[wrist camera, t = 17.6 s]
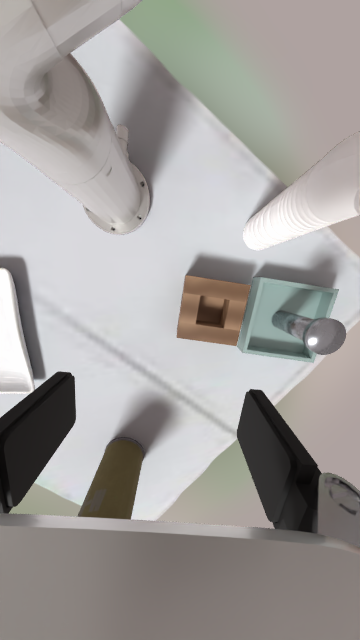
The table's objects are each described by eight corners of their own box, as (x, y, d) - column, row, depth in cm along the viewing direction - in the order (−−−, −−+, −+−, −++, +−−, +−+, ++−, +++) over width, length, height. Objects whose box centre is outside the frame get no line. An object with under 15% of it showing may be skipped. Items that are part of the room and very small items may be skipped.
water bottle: (257, 207, 34) (456, 25, 10) (281, 228, 35) (522, 111, 10) (228, 247, 36) (338, 176, 11) (253, 266, 36) (404, 240, 12)
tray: (253, 277, 37) (261, 277, 33) (324, 288, 37) (339, 289, 34) (237, 346, 40) (242, 352, 37) (302, 355, 41) (313, 362, 38)
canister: (128, 430, 45) (90, 544, 26) (152, 457, 47) (133, 582, 28) (95, 449, 47) (36, 572, 27) (120, 475, 49) (81, 605, 29)
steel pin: (271, 304, 37) (314, 316, 26) (297, 308, 38) (351, 322, 26) (264, 329, 39) (303, 352, 27) (289, 333, 39) (338, 357, 27)
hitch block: (185, 275, 37) (186, 275, 32) (241, 284, 37) (250, 285, 32) (176, 330, 39) (176, 337, 34) (229, 337, 40) (236, 345, 35)
